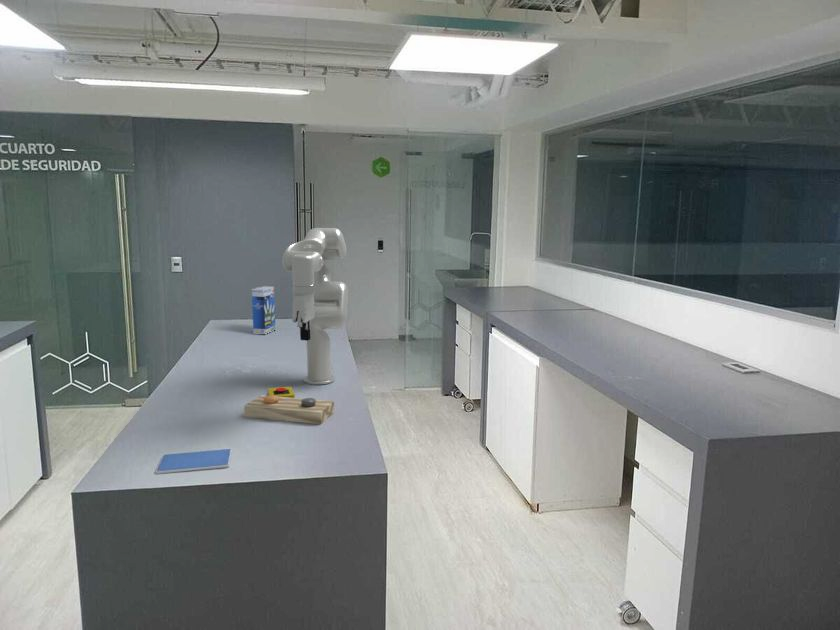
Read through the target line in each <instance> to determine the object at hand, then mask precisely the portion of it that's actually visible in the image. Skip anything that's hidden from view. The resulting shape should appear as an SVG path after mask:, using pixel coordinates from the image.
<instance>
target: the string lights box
mask: <svg viewBox="0 0 840 630" xmlns="http://www.w3.org/2000/svg"><path fill="white" fill-rule="evenodd" d="M251 300H252V301H251V303H252V304H251V305H252V327H253V328H252V331H253V335H258V334H266V335H268V334H270V333H269V332H271V333H273V332H275V331H274V330H276V309H275V308H276V307H275V286H265V285H263V286H259V287H254V288H251ZM272 331H273V332H272ZM267 333H268V334H267Z"/></svg>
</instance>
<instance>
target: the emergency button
mask: <svg viewBox="0 0 840 630" xmlns="http://www.w3.org/2000/svg"><path fill="white" fill-rule="evenodd" d="M266 394H267V395H266V396H268V395H277V396H278V397H288V398H296V397H295V393H294V391H293V388H292V387H291V386H283V387H282V386H281V387H279V386H278V387H269V388H267V393H266Z"/></svg>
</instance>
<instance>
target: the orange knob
mask: <svg viewBox="0 0 840 630" xmlns="http://www.w3.org/2000/svg"><path fill="white" fill-rule="evenodd" d="M264 396H265V397H264V402H265V403H269V404H274V403H276V402H278V396H277V395H268V396H267V395H264Z"/></svg>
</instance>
